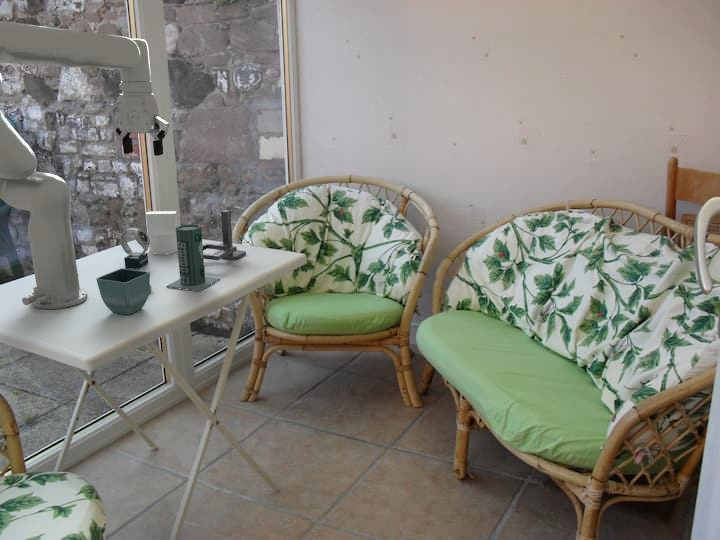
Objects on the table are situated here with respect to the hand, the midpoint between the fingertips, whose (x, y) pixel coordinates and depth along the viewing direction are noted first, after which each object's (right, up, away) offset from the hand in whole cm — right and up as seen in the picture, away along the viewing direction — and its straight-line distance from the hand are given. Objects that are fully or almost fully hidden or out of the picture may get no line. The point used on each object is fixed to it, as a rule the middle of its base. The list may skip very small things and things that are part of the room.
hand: (143, 154), depth 178 cm
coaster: (+14, -35, -3) cm, 38 cm away
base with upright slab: (-2, -25, +27) cm, 37 cm away
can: (+14, -35, -3) cm, 38 cm away
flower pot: (+3, -41, -21) cm, 46 cm away
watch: (-6, -30, +12) cm, 33 cm away
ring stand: (+17, -29, +16) cm, 37 cm away
